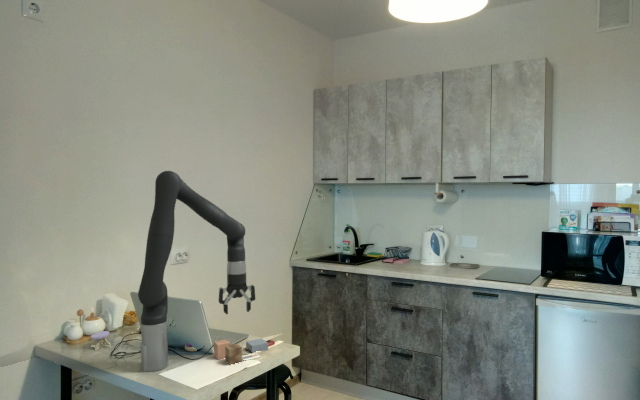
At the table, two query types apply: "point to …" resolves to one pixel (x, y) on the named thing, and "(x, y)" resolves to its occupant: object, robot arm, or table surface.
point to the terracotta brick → (220, 348)
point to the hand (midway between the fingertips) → (237, 312)
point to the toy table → (100, 338)
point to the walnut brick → (233, 354)
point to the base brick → (257, 345)
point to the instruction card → (250, 356)
